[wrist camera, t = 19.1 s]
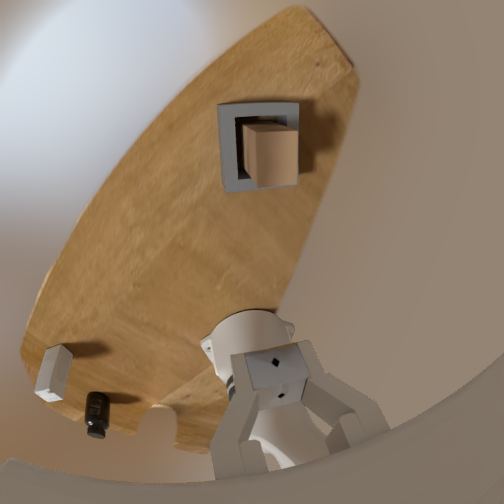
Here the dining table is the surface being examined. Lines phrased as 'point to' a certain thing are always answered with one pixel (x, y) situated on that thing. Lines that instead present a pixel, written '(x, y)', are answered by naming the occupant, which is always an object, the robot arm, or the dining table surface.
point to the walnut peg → (269, 153)
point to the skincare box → (54, 373)
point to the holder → (227, 138)
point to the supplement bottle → (97, 414)
